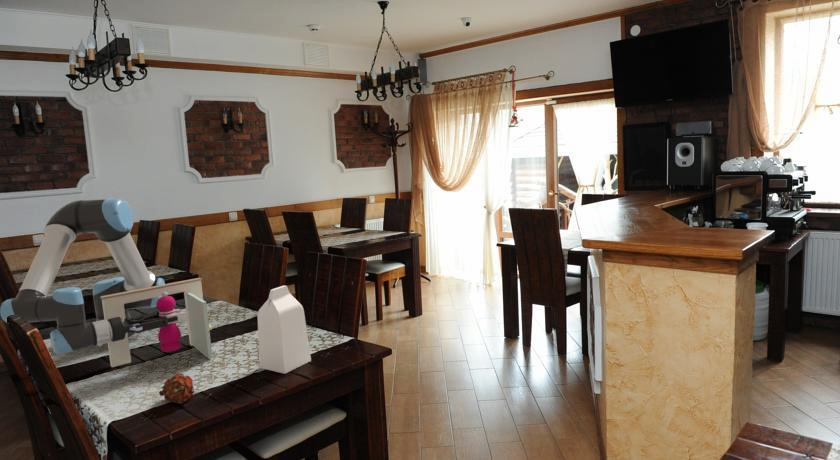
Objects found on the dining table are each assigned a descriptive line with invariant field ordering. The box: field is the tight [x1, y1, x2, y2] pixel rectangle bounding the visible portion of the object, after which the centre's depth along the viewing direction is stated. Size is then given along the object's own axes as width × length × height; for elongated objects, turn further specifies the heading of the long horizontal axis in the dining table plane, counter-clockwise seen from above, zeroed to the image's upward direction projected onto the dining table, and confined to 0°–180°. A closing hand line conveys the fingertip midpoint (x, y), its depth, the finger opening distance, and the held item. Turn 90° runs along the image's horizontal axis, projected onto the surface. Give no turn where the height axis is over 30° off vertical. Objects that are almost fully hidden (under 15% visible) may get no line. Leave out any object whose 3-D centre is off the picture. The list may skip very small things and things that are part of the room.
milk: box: [257, 285, 312, 374], centre depth 182 cm, size 12×12×26 cm
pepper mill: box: [155, 292, 182, 353], centre depth 189 cm, size 7×7×20 cm
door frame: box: [100, 277, 204, 368], centre depth 200 cm, size 3×34×25 cm, turn 133°
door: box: [186, 292, 213, 360], centre depth 199 cm, size 3×20×20 cm, turn 38°
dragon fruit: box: [158, 373, 195, 404], centre depth 160 cm, size 8×8×12 cm
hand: (183, 314), depth 193 cm, fingers closed on pepper mill, 5 cm apart
